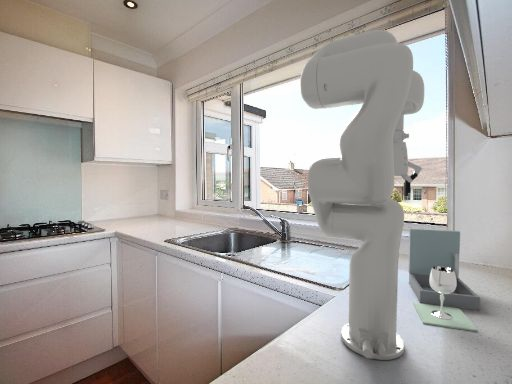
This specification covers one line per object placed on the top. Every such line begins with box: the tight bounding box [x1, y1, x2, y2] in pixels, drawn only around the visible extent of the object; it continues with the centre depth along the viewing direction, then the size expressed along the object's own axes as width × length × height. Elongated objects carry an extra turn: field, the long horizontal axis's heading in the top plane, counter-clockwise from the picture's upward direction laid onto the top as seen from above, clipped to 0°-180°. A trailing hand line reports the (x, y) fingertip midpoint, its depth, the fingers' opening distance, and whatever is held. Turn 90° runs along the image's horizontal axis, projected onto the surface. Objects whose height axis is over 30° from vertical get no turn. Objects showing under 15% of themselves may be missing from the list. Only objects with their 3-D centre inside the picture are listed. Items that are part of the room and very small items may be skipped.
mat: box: [412, 302, 478, 333], centre depth 70 cm, size 11×11×1 cm
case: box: [408, 227, 481, 311], centre depth 82 cm, size 16×14×18 cm
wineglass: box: [429, 266, 457, 320], centre depth 69 cm, size 6×6×12 cm
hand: (387, 195), depth 82 cm, fingers open, 9 cm apart
